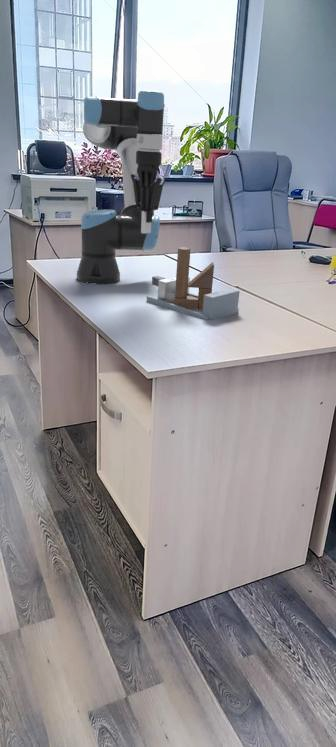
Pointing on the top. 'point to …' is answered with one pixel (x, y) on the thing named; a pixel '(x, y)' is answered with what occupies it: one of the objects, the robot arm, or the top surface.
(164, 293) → the sliding jaw
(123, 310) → the top surface
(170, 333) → the top surface
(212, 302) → the vise base
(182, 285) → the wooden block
